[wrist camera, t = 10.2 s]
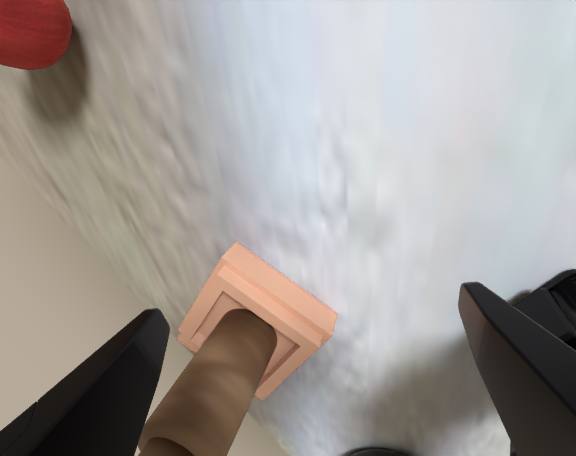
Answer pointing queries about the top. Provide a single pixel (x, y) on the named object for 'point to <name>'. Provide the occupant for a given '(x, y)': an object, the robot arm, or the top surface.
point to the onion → (33, 32)
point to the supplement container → (378, 453)
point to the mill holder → (260, 312)
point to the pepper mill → (212, 390)
